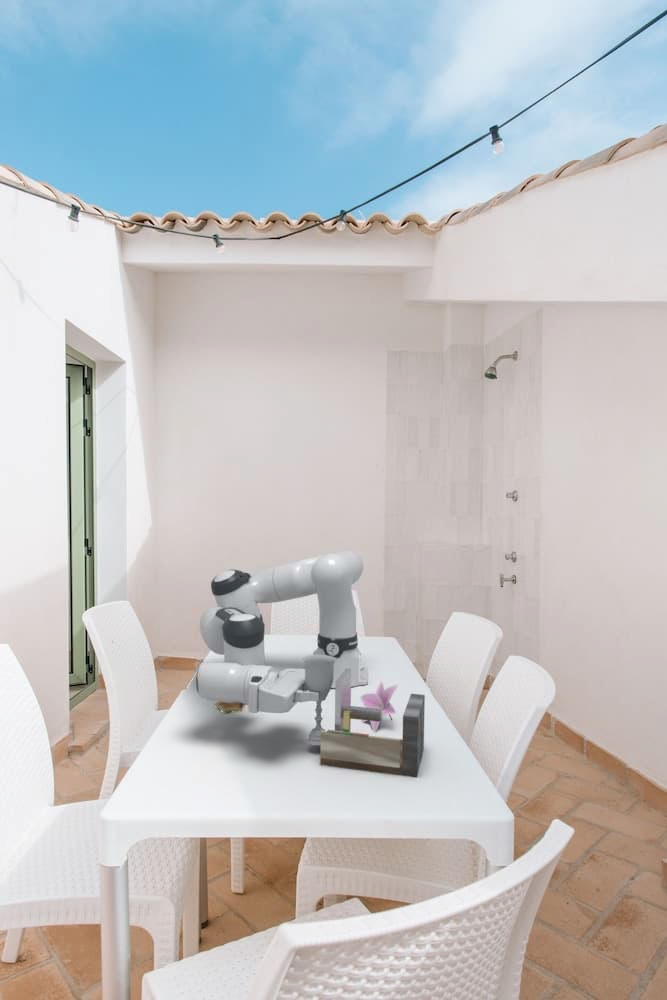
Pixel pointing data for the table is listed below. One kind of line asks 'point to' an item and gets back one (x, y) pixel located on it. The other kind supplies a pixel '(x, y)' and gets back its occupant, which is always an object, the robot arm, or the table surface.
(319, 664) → the chalice
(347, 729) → the drag pointer
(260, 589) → the robot arm
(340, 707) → the grey metal angled plate
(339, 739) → the wooden book stand
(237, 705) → the shard
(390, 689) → the lily
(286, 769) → the table surface
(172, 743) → the table surface
